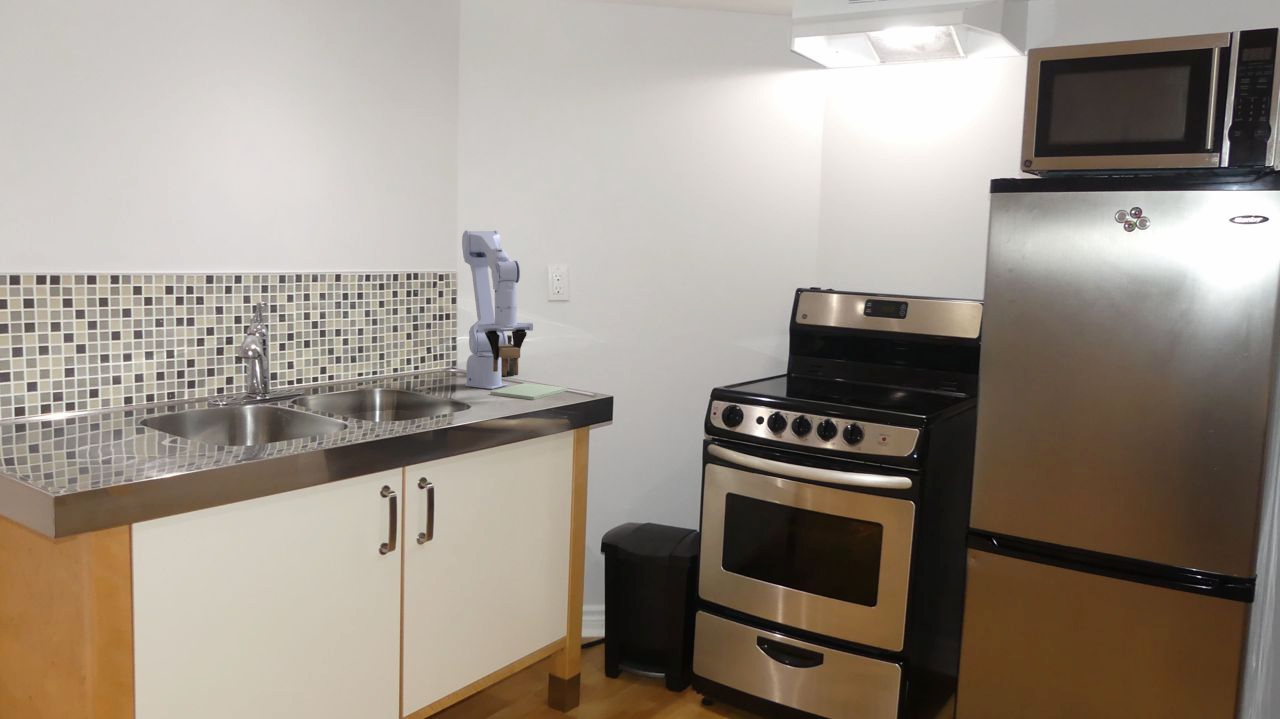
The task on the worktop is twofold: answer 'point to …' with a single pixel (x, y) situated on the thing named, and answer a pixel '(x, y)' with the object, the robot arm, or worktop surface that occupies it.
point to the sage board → (529, 391)
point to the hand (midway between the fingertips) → (505, 358)
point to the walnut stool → (507, 358)
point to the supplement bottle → (511, 360)
